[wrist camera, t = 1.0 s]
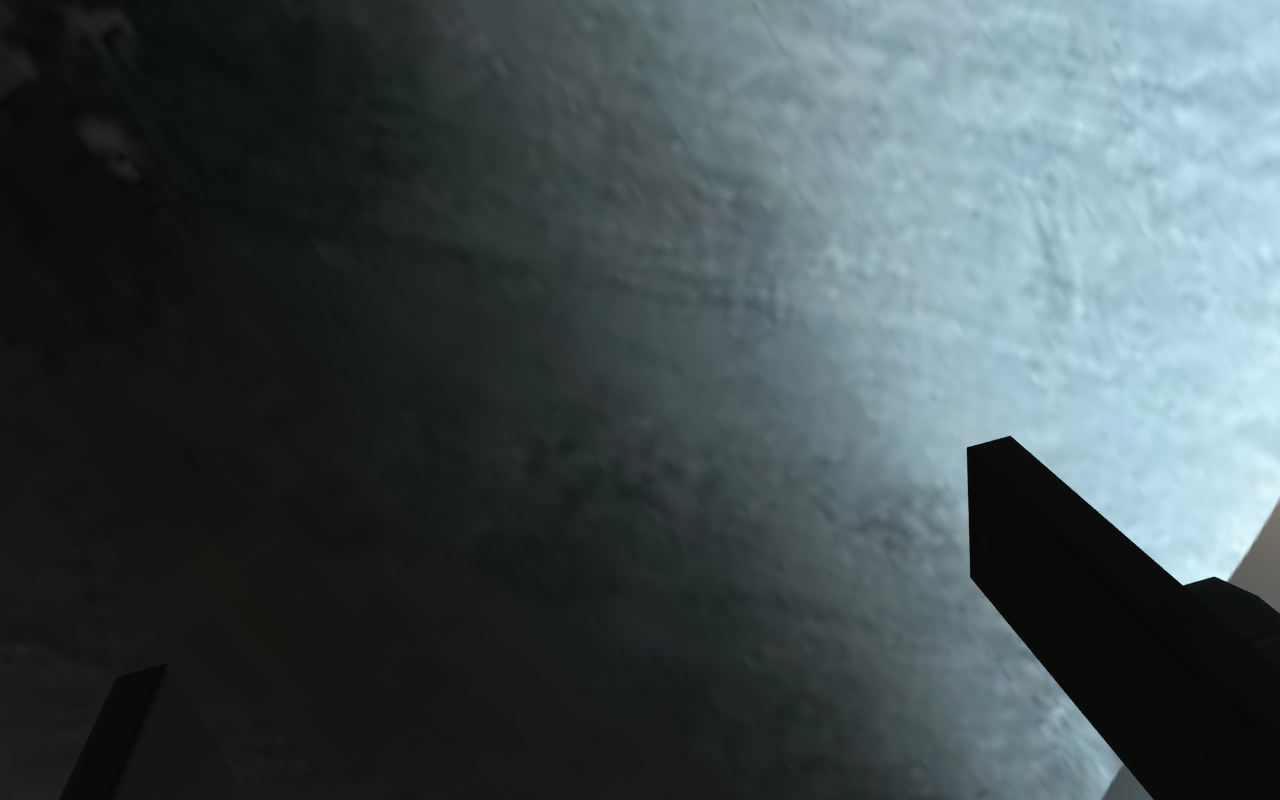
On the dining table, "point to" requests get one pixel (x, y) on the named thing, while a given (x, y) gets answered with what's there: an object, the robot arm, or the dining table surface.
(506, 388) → the dining table surface
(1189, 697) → the robot arm
